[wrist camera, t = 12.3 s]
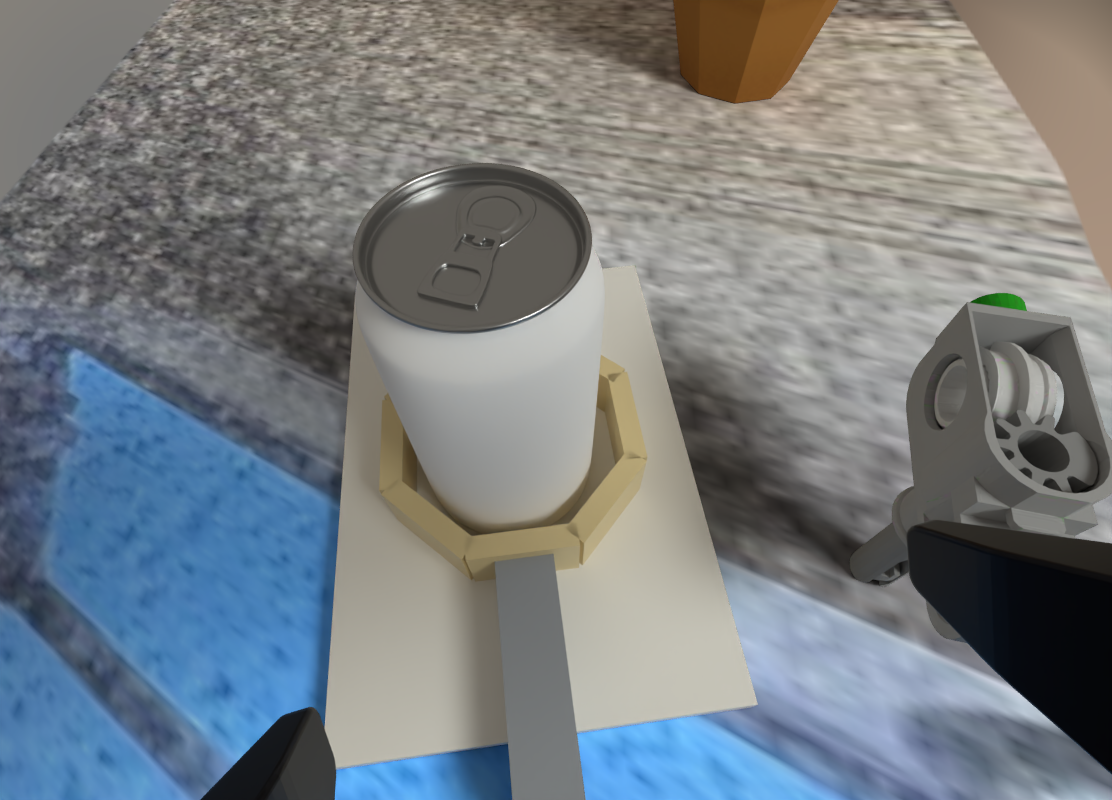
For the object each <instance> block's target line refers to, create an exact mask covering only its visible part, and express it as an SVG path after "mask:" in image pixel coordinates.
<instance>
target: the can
mask: <svg viewBox="0 0 1112 800" xmlns="http://www.w3.org/2000/svg"><path fill="white" fill-rule="evenodd" d="M353 265H354V270H355V273H356V276H357V285H356V293H355V307H356V314H357V318H358V322H359V326H360V329H361V332H362V334H363V337H364V339H365V342H366V344H367V347H368V349H369V352H370V354H371V356H372V358H373V361H374V363H375V365H376V367H377V370H378V372H379V374H380V376H381V379H382V381H383V383H384V385H385V387H386V390H387V392H388V394H389V396H390V398H391V401H392V403H393V405H394V407H395V409H396V412H397V414H398V416H399V418H400V420H401V422H402V425H403V427H404V429H405V431H406V433H407V436H408V438H409V440H410V442H411V444H412V446H413V449H414V451H415V453H416V455H417V457H418V459H419V462H420V464H421V466H422V468H423V470H424V472H425V474H426V476H427V479H428V481H429V483H430V485H431V487H432V489H433V491H434V493H435V495H436V497H437V498H438V500H439V502H440V503H441V505H442V506H443V507H444V509H445V510H446V511H447V512H448V513H449V514H450V515H451V516H452V517H453V518H454V519H455V520H457V521H458V522H459V523H461V524H463V525H464V526H466V527H468V528H470V529H472V530H474V531H477V532H480V533H483V534H492V533H500V532H508V531H515V530H523V529H531V528H538V527H546V526H550V525H551V524H553V523H555V522H556V521H558V520H559V519H560V518H562V517H563V516H564V515H565V514H566V513H567V512H568V511H569V510H570V509H571V508H572V507H573V506H574V505H575V503H576V502H577V500H578V499H579V497H580V496H581V494H582V492H583V490H584V488H585V485H586V483H587V479H588V476H589V471H590V465H591V456H592V447H593V437H594V426H595V415H596V404H597V393H598V381H599V370H600V358H601V346H602V334H603V320H604V303H605V286H604V276H603V271H602V267H601V264H600V261H599V259H598V256H597V254H596V252H595V250H594V248H593V246H592V234H591V228H590V224H589V221H588V218H587V216H586V214H585V212H584V210H583V209H582V207H581V205H580V204H579V203H578V201H577V200H576V199H575V198H574V197H573V196H572V195H571V194H570V193H569V192H568V191H567V190H566V189H564V188H563V187H562V186H560V185H559V184H557V183H556V182H554V181H553V180H551V179H549V178H547V177H545V176H543V175H541V174H538V173H536V172H533V171H530V170H527V169H523V168H520V167H515V166H510V165H503V164H493V163H472V164H461V165H454V166H449V167H444V168H440V169H436V170H433V171H430V172H427V173H424V174H421V175H419V176H416V177H414V178H412V179H410V180H408V181H406V182H404V183H402V184H401V185H399V186H397V187H396V188H394V189H393V190H391V191H390V192H389V193H387V194H386V195H385V196H383V197H382V198H381V199H380V200H379V201H378V202H377V203H376V204H375V205H374V206H373V207H372V208H371V209H370V211H369V212H368V213H367V215H366V216H365V217H364V219H363V221H362V222H361V224H360V226H359V228H358V231H357V233H356V236H355V240H354V245H353Z"/></svg>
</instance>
